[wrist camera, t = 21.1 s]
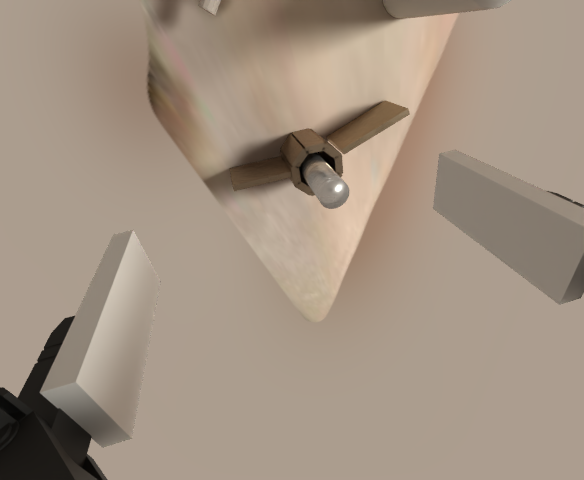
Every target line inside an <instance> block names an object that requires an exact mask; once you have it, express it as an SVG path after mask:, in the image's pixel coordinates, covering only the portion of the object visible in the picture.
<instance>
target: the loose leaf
mask: <svg viewBox="0 0 584 480" xmlns="http://www.w3.org/2000/svg"><path fill="white" fill-rule="evenodd" d="M408 115H409V110H408V109H407V108H405V107H402V106H399V105H396V104H394V103H391V102H388V101H383V102H382V103H380V104H379V105H377V106H375V107H374V108H372V109H371V110H369V111H367V112H366V113H364V114H362V115H361V116H359V117H358V118H356V119H354V120H353V121H351V122H350V123H348V124H346V125H345V126H343V127H342V128H340V129H338V130H337V131H335V132H333V133H332V134H330V135H329V136H327V139H328V141H329V142H330V143H331V144H333V145H334V146H335V147H336V148H337V149H338V150H339V151H341V152H342V153H343V154H345V153H347V152H349V151H350V150H352V149H354V148H355V147H357V146H359V145H360V144H362V143H363V142H365V141H367V140H368V139H370V138H372V137H373V136H375V135H377V134H378V133H380V132H381V131H383V130H385V129H386V128H388V127H390V126H391V125H393V124H395V123H396V122H398V121H399V120H401V119H403V118H404V117H406V116H408Z"/></svg>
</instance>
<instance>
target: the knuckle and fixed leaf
mask: <svg viewBox="0 0 584 480" xmlns="http://www.w3.org/2000/svg"><path fill="white" fill-rule="evenodd" d="M280 149H281V150H280V152H281V156H279V157H275V158H271V159H267V160H262V161H258V162H254V163H250V164H245V165H241V166H237V167H233V168H230V174H231V180H232V185H233V189H234V191H237V190H241V189H245V188H249V187H253V186H257V185H261V184H266V183H270V182H274V181H278V180H282V179H286V178H290V179H291V181H292V183H293V184H294V186H295V187H296V188H298V189H300V190H301V191H303V192H305V193H306V194H308V195H311V196H313V195H315V194H314V192H313V191H312V189H311V188H310V186H309V185H308V183H307V182H306V180H305V179H304V177H303V176H302V174H301V173H300V171H299V166H300V165H301V164H302V162H303V161H304V159H305V158H306V156H307V155H308V154H311V153H315V152H319V153H320V156H321V157H322V158H323V159H324V161H325V162H326V163H327V164H328V165H329V166H330V167H331V168H332V169H333V170H334V171H335V172H336V173H337V174H338V176H339V177H340V178H341V176H342V173H343V166H342V155H341V153H340V152H339V151H338V150H336V149H335V148H334V147H333V146H332V145H331V144H329V143H328V142H327V141H326V140H325V139H324V138H322V137H321V136H320V135H318V134H317V133H316V132H314V131H313V130H311V129H304V130H300V131H296V132H292V134H290V135H289V136H288V138H287V139H286V141H285V142H284V144H283V145H282V147H281V148H280Z"/></svg>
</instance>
